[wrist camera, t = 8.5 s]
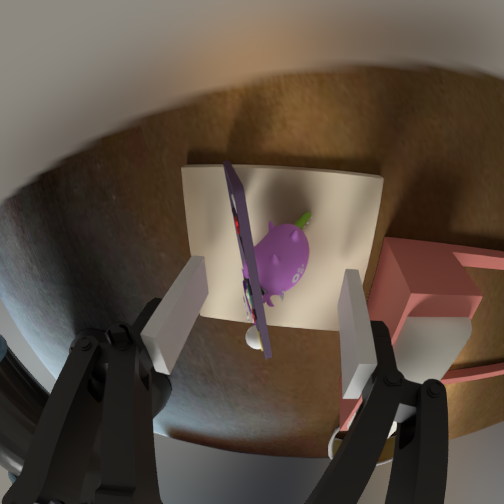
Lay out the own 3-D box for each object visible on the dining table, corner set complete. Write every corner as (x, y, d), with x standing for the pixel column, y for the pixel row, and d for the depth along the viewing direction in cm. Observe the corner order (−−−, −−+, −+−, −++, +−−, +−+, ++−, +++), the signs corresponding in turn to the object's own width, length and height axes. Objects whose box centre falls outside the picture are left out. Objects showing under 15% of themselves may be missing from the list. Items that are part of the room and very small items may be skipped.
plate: (203, 309, 23) (200, 315, 22) (186, 164, 17) (181, 167, 16) (348, 324, 21) (349, 331, 20) (380, 175, 15) (383, 179, 14)
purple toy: (211, 193, 9) (251, 363, 13) (350, 169, 10) (345, 339, 14) (209, 163, 15) (236, 290, 19) (296, 148, 15) (307, 275, 20)
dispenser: (339, 379, 25) (338, 451, 18) (384, 236, 16) (423, 325, 10) (513, 364, 20) (530, 411, 13) (571, 262, 12) (607, 308, 5)
